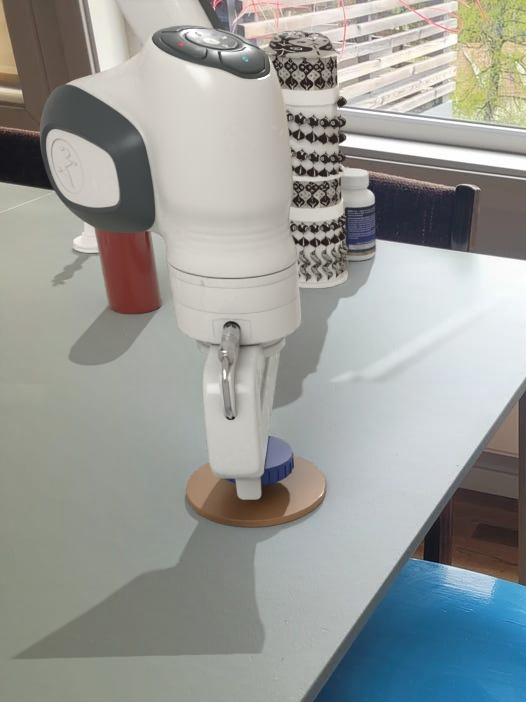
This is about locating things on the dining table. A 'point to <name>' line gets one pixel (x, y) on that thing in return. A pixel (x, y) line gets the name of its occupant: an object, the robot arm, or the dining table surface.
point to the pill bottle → (358, 214)
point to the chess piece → (86, 240)
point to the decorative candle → (313, 153)
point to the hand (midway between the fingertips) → (254, 470)
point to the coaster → (270, 509)
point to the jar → (129, 271)
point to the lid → (276, 461)
